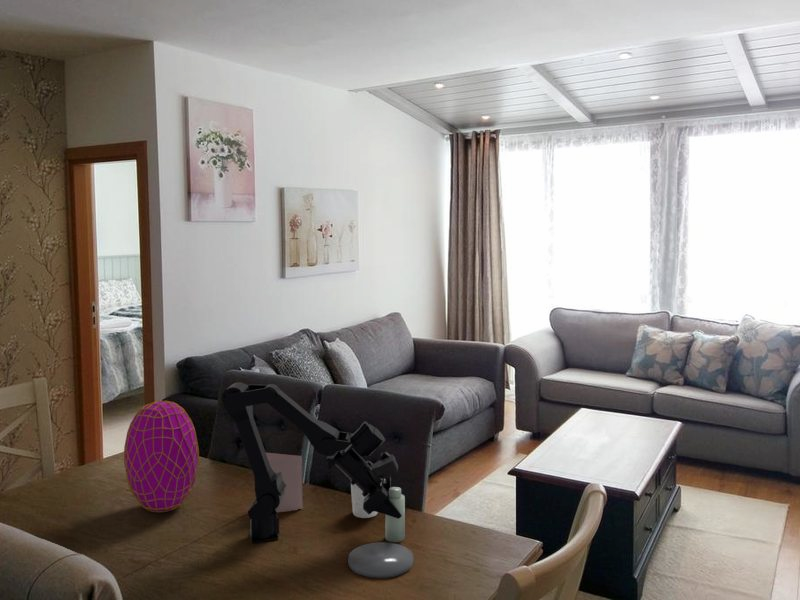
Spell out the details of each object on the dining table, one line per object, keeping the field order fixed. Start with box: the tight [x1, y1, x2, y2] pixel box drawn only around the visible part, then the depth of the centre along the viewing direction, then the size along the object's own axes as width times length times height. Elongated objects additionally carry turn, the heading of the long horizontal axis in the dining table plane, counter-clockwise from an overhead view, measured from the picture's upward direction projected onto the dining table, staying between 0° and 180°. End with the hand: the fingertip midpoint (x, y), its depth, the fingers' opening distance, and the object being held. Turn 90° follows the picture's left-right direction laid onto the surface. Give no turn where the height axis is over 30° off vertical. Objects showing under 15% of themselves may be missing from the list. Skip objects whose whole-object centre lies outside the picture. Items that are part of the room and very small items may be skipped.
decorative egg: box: [123, 400, 200, 513], centre depth 184 cm, size 19×19×30 cm
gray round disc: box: [347, 541, 414, 579], centre depth 155 cm, size 15×15×1 cm
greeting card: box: [266, 452, 303, 513], centre depth 184 cm, size 11×7×15 cm, turn 74°
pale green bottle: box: [384, 486, 406, 543], centre depth 167 cm, size 5×5×12 cm
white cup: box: [350, 483, 379, 519], centre depth 182 cm, size 8×8×10 cm
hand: (400, 512), depth 167 cm, fingers open, 6 cm apart
